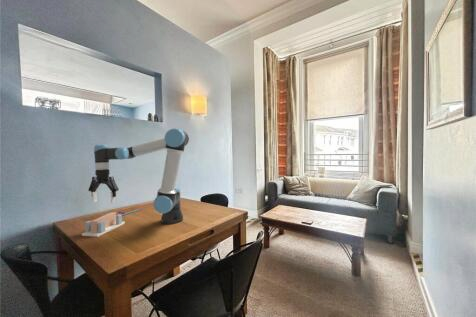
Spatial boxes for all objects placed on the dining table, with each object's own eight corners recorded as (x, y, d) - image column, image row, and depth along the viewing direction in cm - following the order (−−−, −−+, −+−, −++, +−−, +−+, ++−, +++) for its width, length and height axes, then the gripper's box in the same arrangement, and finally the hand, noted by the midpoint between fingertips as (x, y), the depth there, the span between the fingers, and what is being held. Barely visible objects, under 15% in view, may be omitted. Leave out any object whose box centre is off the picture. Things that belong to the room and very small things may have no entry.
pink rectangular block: (116, 222, 139) (116, 212, 139) (97, 232, 121) (96, 221, 121) (111, 222, 139) (110, 212, 139) (90, 232, 121) (90, 221, 121)
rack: (124, 223, 140) (124, 213, 140) (97, 236, 118) (97, 224, 118) (111, 222, 142) (110, 212, 142) (81, 235, 120) (81, 223, 120)
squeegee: (133, 207, 177) (141, 208, 173) (134, 209, 177) (141, 210, 173) (99, 217, 152) (107, 219, 147) (99, 219, 152) (107, 221, 147)
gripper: (123, 168, 130) (125, 200, 131) (90, 168, 135) (92, 200, 135) (114, 169, 123) (116, 203, 124) (80, 169, 127) (82, 203, 128)
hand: (104, 201), depth 130 cm, fingers open, 13 cm apart
